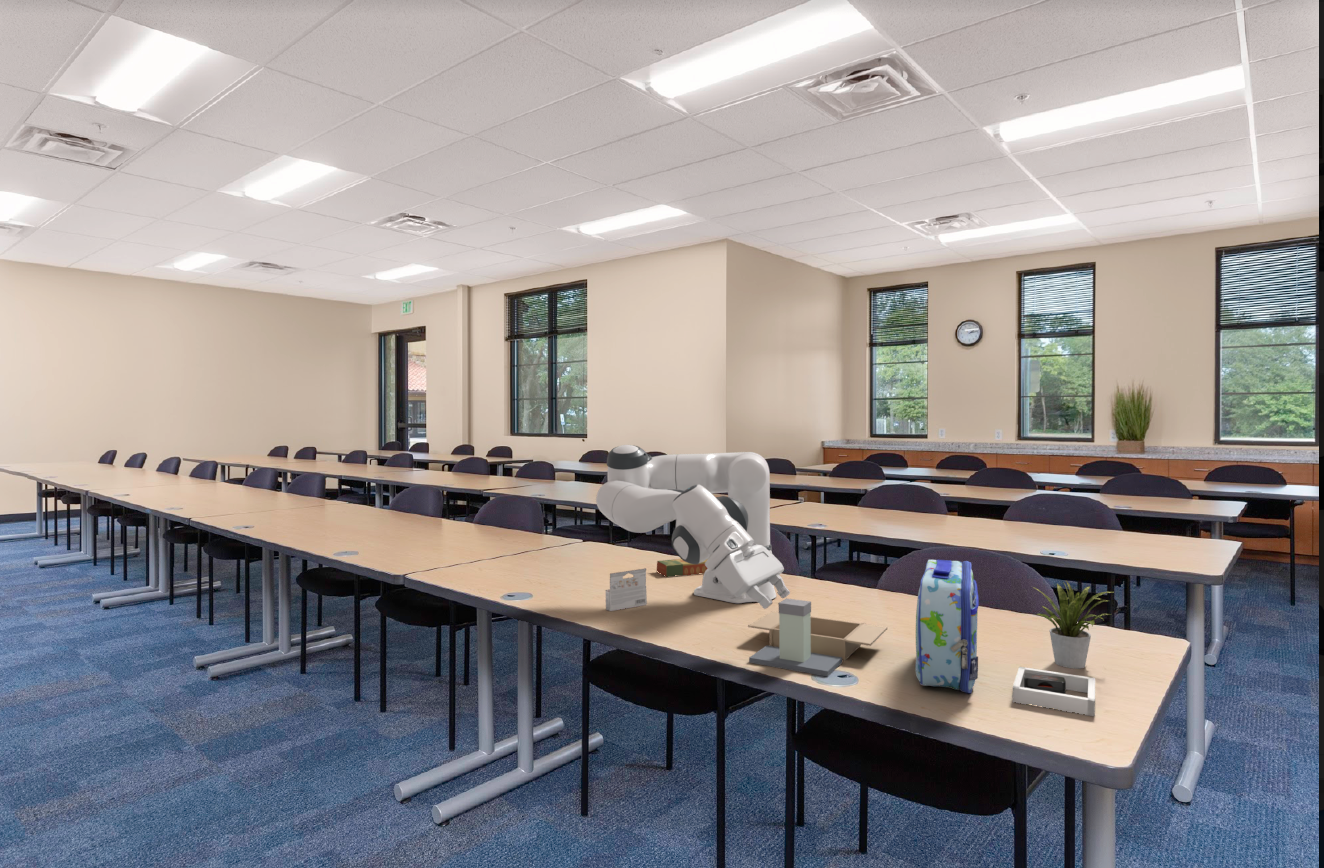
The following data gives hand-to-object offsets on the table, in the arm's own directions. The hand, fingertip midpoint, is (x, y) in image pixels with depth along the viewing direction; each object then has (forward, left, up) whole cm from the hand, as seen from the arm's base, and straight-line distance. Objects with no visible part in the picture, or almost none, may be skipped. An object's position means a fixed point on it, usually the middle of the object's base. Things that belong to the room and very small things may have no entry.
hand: (778, 600), depth 145 cm
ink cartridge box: (-50, +20, -12) cm, 55 cm away
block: (+3, +1, -11) cm, 12 cm away
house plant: (+51, +26, -12) cm, 59 cm away
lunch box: (+30, +9, -12) cm, 34 cm away
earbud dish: (+48, +6, -12) cm, 50 cm away
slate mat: (+3, +1, -12) cm, 13 cm away
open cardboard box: (+3, +14, -12) cm, 19 cm away
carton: (-57, +64, -13) cm, 86 cm away
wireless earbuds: (+46, +5, -12) cm, 48 cm away
